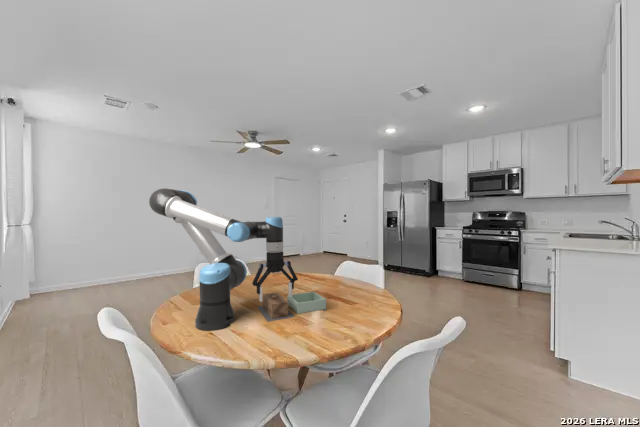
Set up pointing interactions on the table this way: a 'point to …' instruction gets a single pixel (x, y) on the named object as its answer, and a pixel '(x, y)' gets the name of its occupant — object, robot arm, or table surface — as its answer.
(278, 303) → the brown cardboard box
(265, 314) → the mat
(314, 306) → the dish
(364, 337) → the table surface
